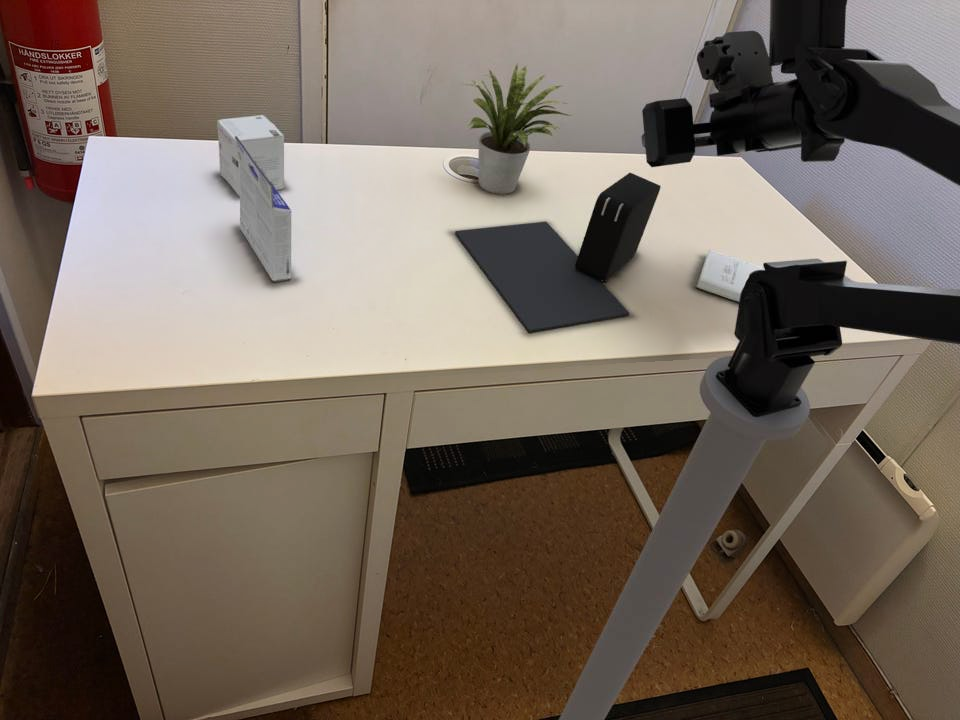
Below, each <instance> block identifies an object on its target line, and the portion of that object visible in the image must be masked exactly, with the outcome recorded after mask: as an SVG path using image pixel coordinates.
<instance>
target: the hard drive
mask: <svg viewBox="0 0 960 720" xmlns="http://www.w3.org/2000/svg"><path fill="white" fill-rule="evenodd" d="M756 270H764V266H759V265H757V264H754V263H750V262H748V261H746V260H745V261H744V260H741V259H738V258H735V257H732V256H729V255H726V254H724V253H723V254H722V253H720V252H718V251H713V250H710V249H708V252H707V254H706V256H705V259H704V262H703V265H702V268H701V270H700V275H699V277H698V280H697V283H696V288H698V289H699V290H700V289H701V290H703V291H706V292H707V293H711V294H715V295H717V296H721V297H724V298H726V299H728V300H731V301H735V302H738V303H739V301H740V295H741V291H742V289H743V288H744V285H745V283H746V281H747V279H748V278H749V274H750V273H752V272H753V271H756Z"/></svg>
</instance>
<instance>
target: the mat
mask: <svg viewBox="0 0 960 720" xmlns="http://www.w3.org/2000/svg"><path fill="white" fill-rule="evenodd" d="M454 234H455V236H456V237H457V239H458V240H460V242H461V244H462V245H463V247H464V248H465V249H466V250H467V252H468V253H469V254H470V256H471V257H472V258H473V260H474V261H475V263H476V265H478V266H479V267H480V269H481V270H482V272H483V273H484V275H485V276H486V277H487V279H488V280H489V281H490V282H491V284H492V285H493V287H494V288H495V290H496V291H497V292H498V293H499V295H500V296H501V298H502V299H503V300H504V301H505V303H506V304H507V305H508V307H509V308H510V310H511V311H512V312H513V314H514V315H515V316H516V318H517V319H518V321H519V322H520V323H521V324H522V326H523V327H524V328H525V330H526V331H527V333H529V334H531V333H536V332H542V331H543V332H544V331H548V330H549V331H550V330H554V329H559V328H560V329H561V328H566V327H571V326H577V325H578V326H579V325H583V324H588V323H594V322H601V321H606V320H607V321H608V320H613V319H618V318H623V317H629V316H630V314H631V313H630V312H629V310H628V309H627V308H626V307H625V306H624V305H623V304H622V303H621V301H619V300H618V299H617V297H616V296H615V295H614V294H613V293H612V292H611V290H610V289H608V287H607V286H606V285H605V284H604V282H603V281H601V280H599V279H597V278H595V277H593V276H591V275H589V274H587V273H585V272H583V271H581V270H579V269H577V268H575V264H576V261H577V258H578V254H577V253H576V252H575V251H574V250H573V249H572V248H571V247H570V246H569V245H568V244H567V242H565V240H564V239H563V238H562V237H561V236H560V235H559V234H558V233H557V232H556V231H555V229H554V228H553V227H552V226H551V225H550V224H549V223H548V222H547V221H538V222H528V223H520V224H519V223H518V224H508V225H500V226H490V227H479V228H471V229H470V228H469V229H461V230H455V232H454Z"/></svg>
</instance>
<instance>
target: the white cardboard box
mask: <svg viewBox="0 0 960 720" xmlns="http://www.w3.org/2000/svg"><path fill="white" fill-rule="evenodd" d="M216 122H217V138H218V140H217V141H218V158H219V174H220V176H221V177H222V178H223V179H224V180H225V181H226V182H227V183H228V185H230V187H231V188H232V189H233V190H234V192H235V193H236V194H237V196H239V197H240V168H239V158H238V151H237V144H236V139H235V136H237V137H238V138H239V140H240V141H241V142H242V144H243V145H244V147H245V148H246V149H247V151H248V152H249V153H250V155H251V156H252V158H253V159H254V161H256V162H257V163H258V165H259V166H260V168H261V169H262V171H263V172H264V173H265V175H266V176H267V177H268V179H269V180H270V181H271V182H272V183H274V185H273V186H274V187H275V189H276V190H277V191H278V190H284V189H285V134H283V133H282V132H281V131H280V130H279V129H278V128H277V126H276V125H275V124H274V123H273V122H271V120H270V119H268V118H267V117H266V116H265V115H264V114H260V115H252V116H244V117H243V116H242V117H231V118H223V119H222V118H221V119H217V121H216Z"/></svg>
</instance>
